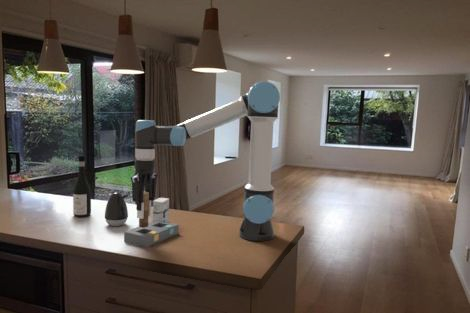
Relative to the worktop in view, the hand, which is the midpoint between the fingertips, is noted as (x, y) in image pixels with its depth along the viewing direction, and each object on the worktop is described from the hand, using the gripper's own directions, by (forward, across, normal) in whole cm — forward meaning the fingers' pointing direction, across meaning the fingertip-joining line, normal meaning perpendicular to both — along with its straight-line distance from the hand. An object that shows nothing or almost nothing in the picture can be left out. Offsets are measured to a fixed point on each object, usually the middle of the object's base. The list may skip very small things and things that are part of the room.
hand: (143, 216), depth 149 cm
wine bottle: (+10, -12, -50) cm, 52 cm away
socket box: (+10, -5, 0) cm, 11 cm away
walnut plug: (+4, 0, 0) cm, 4 cm away
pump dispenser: (+10, -10, -25) cm, 29 cm away
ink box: (+10, -22, -9) cm, 26 cm away
